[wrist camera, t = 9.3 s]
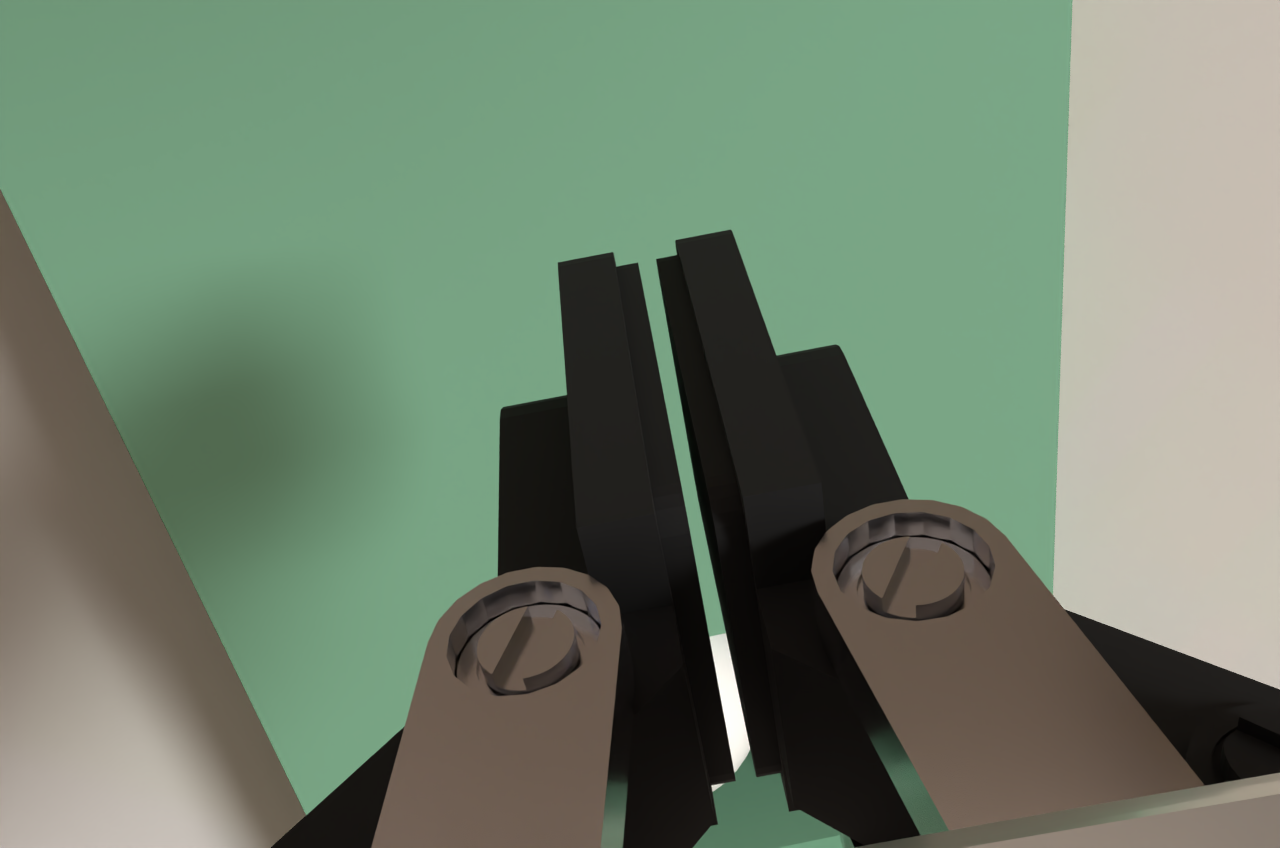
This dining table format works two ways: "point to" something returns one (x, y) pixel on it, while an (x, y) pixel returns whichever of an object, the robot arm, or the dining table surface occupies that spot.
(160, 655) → the dining table surface
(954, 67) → the green
